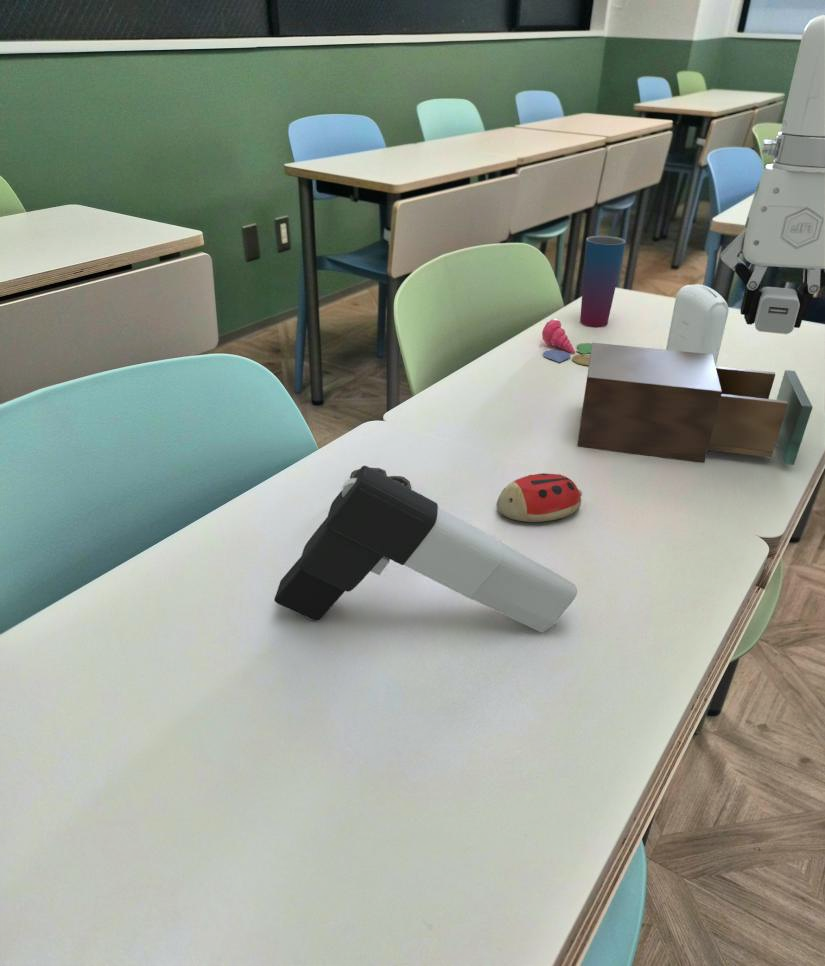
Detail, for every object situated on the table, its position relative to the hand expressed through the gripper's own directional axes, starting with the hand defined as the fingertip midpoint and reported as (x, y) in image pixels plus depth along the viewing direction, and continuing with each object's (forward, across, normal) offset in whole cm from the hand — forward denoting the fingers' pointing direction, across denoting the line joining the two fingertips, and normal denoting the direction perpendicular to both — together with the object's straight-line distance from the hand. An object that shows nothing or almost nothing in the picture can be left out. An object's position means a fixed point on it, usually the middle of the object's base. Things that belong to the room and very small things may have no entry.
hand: (771, 320), depth 86 cm
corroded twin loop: (+16, -42, -22) cm, 50 cm away
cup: (+17, -20, +45) cm, 52 cm away
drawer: (+16, -1, +1) cm, 16 cm away
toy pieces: (+17, -23, +28) cm, 40 cm away
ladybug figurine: (+16, -24, -22) cm, 36 cm away
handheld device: (+16, -32, -42) cm, 55 cm away
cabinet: (+17, -12, +1) cm, 21 cm away
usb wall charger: (+1, 0, 0) cm, 1 cm away
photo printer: (+17, -4, +29) cm, 34 cm away
